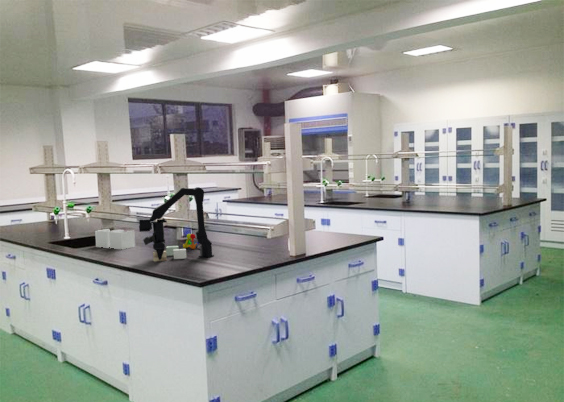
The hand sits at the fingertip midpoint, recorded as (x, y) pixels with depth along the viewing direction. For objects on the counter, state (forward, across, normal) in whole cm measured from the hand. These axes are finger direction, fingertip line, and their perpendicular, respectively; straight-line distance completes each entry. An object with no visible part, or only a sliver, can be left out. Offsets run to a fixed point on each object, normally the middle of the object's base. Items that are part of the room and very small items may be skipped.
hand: (160, 258), depth 277 cm
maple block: (+1, 0, 0) cm, 1 cm away
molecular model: (+1, -33, +19) cm, 38 cm away
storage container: (+2, -57, -30) cm, 64 cm away
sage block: (+1, -14, +7) cm, 16 cm away
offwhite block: (+1, -2, +11) cm, 11 cm away
